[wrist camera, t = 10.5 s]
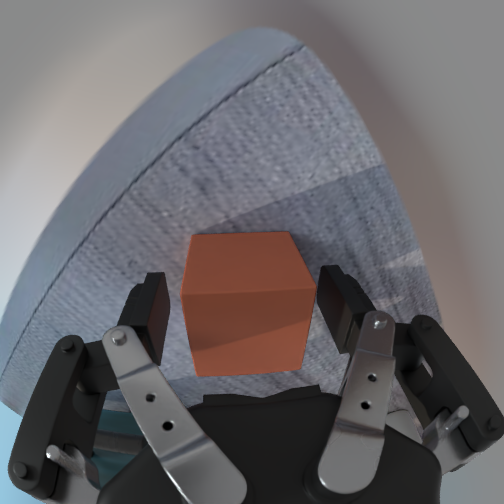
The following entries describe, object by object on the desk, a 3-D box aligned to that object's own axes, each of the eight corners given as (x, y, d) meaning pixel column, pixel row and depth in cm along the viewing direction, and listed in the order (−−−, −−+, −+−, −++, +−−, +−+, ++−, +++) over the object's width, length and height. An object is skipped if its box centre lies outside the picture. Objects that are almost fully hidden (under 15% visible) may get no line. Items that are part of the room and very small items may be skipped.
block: (200, 310, 14) (196, 377, 10) (191, 234, 12) (179, 293, 8) (282, 306, 15) (301, 370, 11) (288, 230, 13) (317, 286, 9)
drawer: (46, 369, 15) (17, 446, 8) (187, 382, 16) (184, 487, 10) (123, 456, 24) (118, 505, 17) (214, 463, 25) (218, 516, 18)
